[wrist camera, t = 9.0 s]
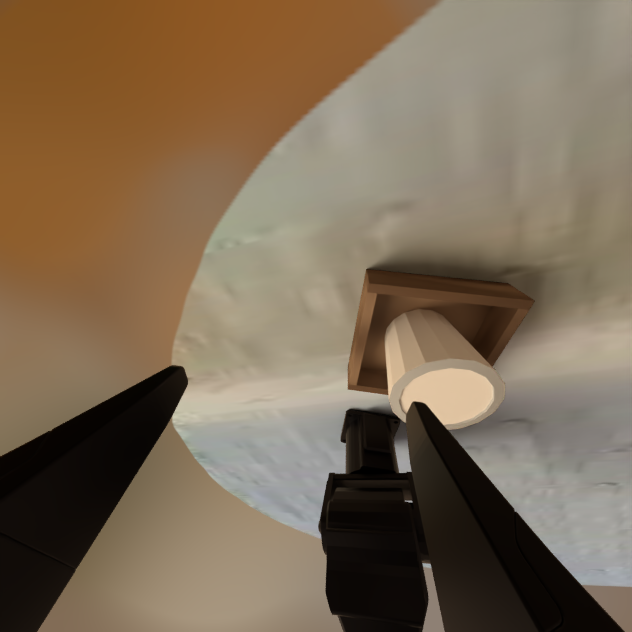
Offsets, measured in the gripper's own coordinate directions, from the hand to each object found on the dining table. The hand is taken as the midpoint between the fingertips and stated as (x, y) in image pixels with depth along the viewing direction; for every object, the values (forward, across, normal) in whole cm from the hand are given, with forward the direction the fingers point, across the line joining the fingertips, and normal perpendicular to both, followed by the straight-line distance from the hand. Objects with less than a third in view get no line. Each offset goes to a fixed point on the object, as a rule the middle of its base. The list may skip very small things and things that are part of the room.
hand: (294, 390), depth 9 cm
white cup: (+12, -9, +4) cm, 15 cm away
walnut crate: (+12, -9, +4) cm, 16 cm away
